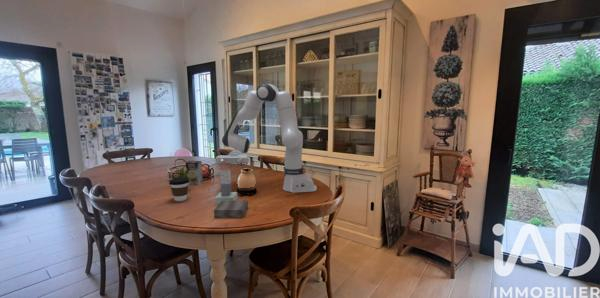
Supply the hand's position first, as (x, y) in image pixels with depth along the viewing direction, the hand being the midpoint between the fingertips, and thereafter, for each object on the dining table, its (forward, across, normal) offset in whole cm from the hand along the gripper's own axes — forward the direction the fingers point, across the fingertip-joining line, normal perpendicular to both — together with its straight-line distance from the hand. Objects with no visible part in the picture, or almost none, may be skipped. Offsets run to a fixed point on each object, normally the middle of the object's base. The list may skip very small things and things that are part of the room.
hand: (229, 161), depth 169 cm
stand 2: (+29, +8, +21) cm, 37 cm away
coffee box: (-26, -31, +22) cm, 46 cm away
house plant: (-10, -33, +22) cm, 41 cm away
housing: (+12, +1, +17) cm, 21 cm away
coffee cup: (+8, -27, +22) cm, 36 cm away
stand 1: (+12, +1, +21) cm, 24 cm away
